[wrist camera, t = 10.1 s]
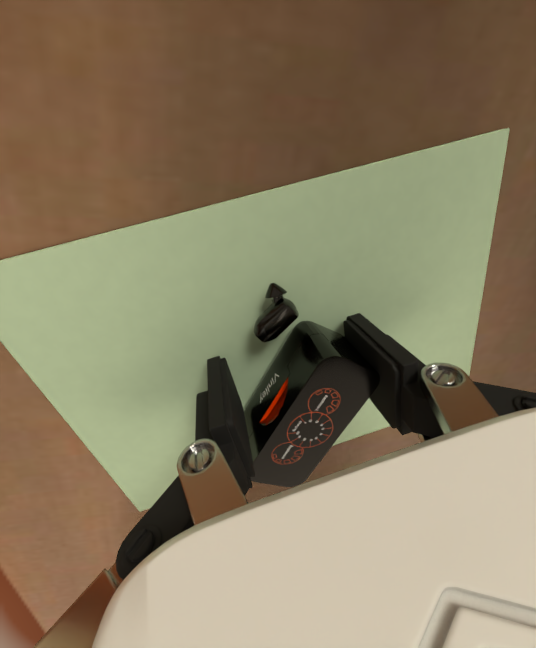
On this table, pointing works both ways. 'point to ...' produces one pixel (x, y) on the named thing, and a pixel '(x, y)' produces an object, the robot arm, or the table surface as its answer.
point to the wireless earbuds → (302, 394)
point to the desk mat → (249, 296)
